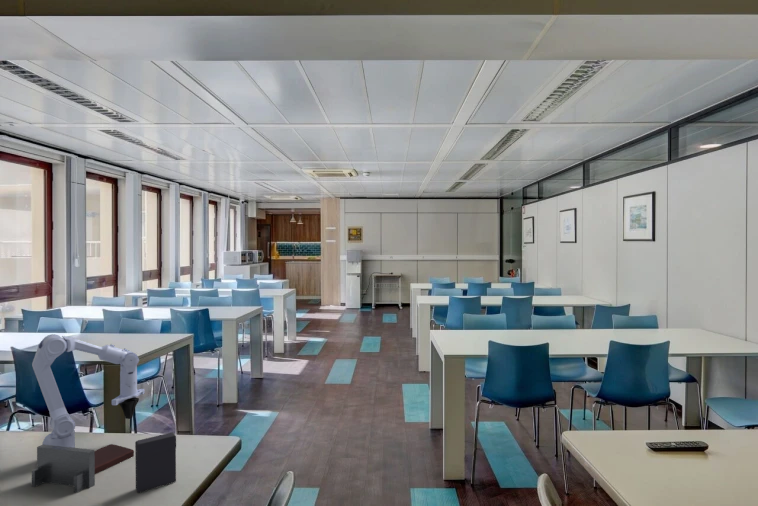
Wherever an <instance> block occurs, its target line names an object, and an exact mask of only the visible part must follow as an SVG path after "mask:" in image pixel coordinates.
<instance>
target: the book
mask: <svg viewBox="0 0 758 506" xmlns="http://www.w3.org/2000/svg"><path fill="white" fill-rule="evenodd" d="M94 450H95V449H94ZM134 456H135V451H134V449H132V448H128V447H125V446H122V445H117V444H112V443H111V444H108V445H105V446H102V447H99V448H98V449H96V450H95V475H97V474H99V473H102V472H104V471H106V470H108V469H110V468H112V467H114V466H116V465H118V464H120V462H121V463H122V462H125V461H127V460H130V459H132V458H133V457H134ZM131 457H132V458H131Z"/></svg>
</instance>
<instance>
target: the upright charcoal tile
mask: <svg viewBox="0 0 758 506" xmlns="http://www.w3.org/2000/svg"><path fill="white" fill-rule="evenodd" d="M134 442H135V443H134V444H135V445H134V446H135V447H134V448H135V451H134V456H135V458H134V459H135V491H136V492H137V494H140V492H141V493H144V492H147V491H150V490H153V489H156V488H161V487H164V486H166V484H167V485H170V484H174V483H175V482H176V481H177V463H176V462H177V459H176V457H177V454H176V452H177V451H176V449H177V435H176V434H175V433H174V432H168V433H163V434H159V435H155V436H151V437H146V438H143V439H138V440H136V441H134ZM173 482H174V483H173ZM169 483H170V484H169ZM163 485H164V486H163Z"/></svg>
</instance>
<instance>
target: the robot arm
mask: <svg viewBox="0 0 758 506" xmlns="http://www.w3.org/2000/svg"><path fill="white" fill-rule="evenodd" d="M72 351H80V352H83V353H88V354H92V355H96V356H98V358H99V360H101V361H103V362H104V361H105V362H107V363H112V364H114V365H120V368H119V369H120V371H119V375H120V376H119V389H120V390H119V395H118V396H115V398H113V399H111V405H112V406H118V405H119V406H120V408H121V409H122V412H123V414H124V415H123V416H124V418H125V419H127V420H128V419H133V416H134V413H135V409H136V406H137V404H138V403H139V402H140V396H141V395H144V394H145V393H146V392H145V391H146V390H145V388H139V389H138V366H137V365H138V364H139V362H140V358H139V356H138V355H137V354H136V353H135V352H133V351H132V350H128V349H127V348H123V349H122V348H120V347H116V346H115V344H112V343H110V344H105V345H103V346H100V345H96V344H94V343H91V342H88V341H84V340H81V339H78V338H75V337H70V336H65V335H62V336H60V335H58V334H53V333H52V334H49V335H47V336H45V337H44V338H42V340H41V341H40V342H39V343H38V345H37V349H36V351H35V354H34V358H33V359H32V363H31V365H32V370H33V372H34V375H35V377H36V380H37V382H38V386H39V387H40V392H41V393H42V396H43V399H44V401H45V404H46V406H47V409H48V411H49V412H48V413H49V416H50V421H49V425H50V428H51V430H52V431H51V432H50V433H49V434H47V435H46V436H45V437H44V439H43V441H42V444H41V445H53V446H62V447H72V448H76V437H75V436H76V435H75V434H76V430H75V429H76V422H75V420H74V419H72V417H71V415H70V414H69V413H68V411H67V408H66V406H65V402H64V401H63V399H62V395H61V393H60V390H59V387H58V384H57V382H56V379H55V376H54V374H53V373H54V372H53V371H52V368H51V366H52V365H53V363H54V362H55V360H56V358H58V357H59V356H61V355H62V354H64V352H66V353H69V352H72Z"/></svg>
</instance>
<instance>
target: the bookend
mask: <svg viewBox="0 0 758 506" xmlns="http://www.w3.org/2000/svg"><path fill="white" fill-rule="evenodd" d="M95 476H96V474H95V449H91V448H90V449H89V448H80V447H79V448H78V447H75V448H72V447H62V446H53V445H42V444H41V445H39V446H37V447H36V468H34V469H33V470H31V487H32V488H36V487H38V486H40V485H41V484H43V483H45V484H46V483H47V484H54V485H62V486H68V487H69V486H70V487H73V493H78V492H81V491H82V490H84V489H91V488H92V487H93V486H95V483H96V480H95V479H96V477H95Z"/></svg>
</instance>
